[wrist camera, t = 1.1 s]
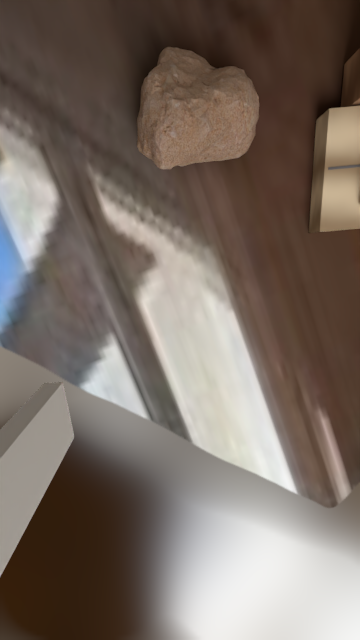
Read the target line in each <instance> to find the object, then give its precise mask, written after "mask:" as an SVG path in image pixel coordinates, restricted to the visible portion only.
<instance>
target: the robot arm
mask: <svg viewBox="0 0 360 640" xmlns="http://www.w3.org/2000/svg"><path fill="white" fill-rule="evenodd" d="M73 439H74V433H73V428H72V423H71V419H70V414H69V409H68V405H67V399H66V395H65V390H64V385H63V383H62V382H59V383H44V384H43V385H42V386H41V387H40V388H39V389H38V391H36V392H35V394H34V395H33V396H32V397H31V398H30V399H29V400H28V401H27V402H26V403H25V404H24V405H23V406H22V407H21V408H20V409H19V410H18V411H17V412H16V414H15V415H14V416H13V417H12V418H11V419H10V420H9V421H8V422H7V423H6V424H5V425H4V426H3V427H2V428H1V429H0V576H1V574H2V572H3V571H4V568H5V567H6V565H7V563H8V561H9V559H10V557H11V555H12V553H13V552H14V550H15V548H16V546H17V544H18V542H19V540H20V538H21V537H22V535H23V533H24V531H25V529H26V527H27V525H28V523H29V521H30V520H31V518H32V516H33V514H34V512H35V510H36V508H37V506H38V504H39V502H40V501H41V499H42V497H43V495H44V493H45V491H46V489H47V487H48V486H49V484H50V482H51V480H52V478H53V476H54V474H55V472H56V471H57V469H58V467H59V465H60V463H61V461H62V459H63V457H64V455H65V454H66V452H67V450H68V448H69V445H70V444H71V442H72V440H73Z"/></svg>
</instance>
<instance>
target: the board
mask: <svg viewBox="0 0 360 640" xmlns="http://www.w3.org/2000/svg"><path fill="white" fill-rule="evenodd" d="M359 228H360V106H351V107H340V108H329V109H328V110H327V111H326V112H325V113H324V114H323V115H321V116H320V117H319V118H318V119H317V120H316V131H315V146H314V161H313V177H312V192H311V207H310V222H309V233H313V232H325V231H336V230H348V229H359Z"/></svg>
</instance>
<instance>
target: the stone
mask: <svg viewBox="0 0 360 640" xmlns="http://www.w3.org/2000/svg"><path fill="white" fill-rule="evenodd" d="M258 111H259V96H258V95H257V93H256V91H255V88H254V86H253V83H252V80H251V79H249V78H248V77H247V75H246V74H245V72H244V70H242V69H239V68H237V67H235V66H228V67H224V68H214V67H212V66H211V65H210V64H209V63H208V62H207V61H206V59H204V58H203V57H201V56H199V55H197V54H195V53H194V52H193V51H189V50H184V49H179V48H177V47H176V48H173V47H167V48H164V49H163V51H162V52H161V53H160V55H159V60H158V63H157V66H156V67H155V68H153V69H152V70H151V71H150V72H149V74H148V76H147V77H146V78H145V79H144V82H143V85H142V87H141V102H140V111H139V114H138V117H137V126H138V127H137V129H138V140H137V147H138V149H139V151H140V152H141V153H142V154H144V155H145V156H146V157H148V158H150V159H152V160H153V162H154V163H155V164H156V166H157V167H158V168H161V169H171V168H172V167H174V166H176V165H178V166H186V165H189V164H192V163H201V162H209V161H223V160H228V159H234V158H239V157H240V156H241V155H243V154H244V153H246V152H247V150H248V149H249V147H250V145H251V142H252V140H253V138H254V136H255V135H256V134H255V128H256V123H257V121H258V118H259V115H258Z"/></svg>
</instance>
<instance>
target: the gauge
mask: <svg viewBox="0 0 360 640" xmlns="http://www.w3.org/2000/svg"><path fill="white" fill-rule="evenodd" d="M351 106H360V48H359V49H358V50H357V51H356V52H355V53H354V55H353V56H352V57H351V58H350V59H349V60H348V61H347V62H346V63H345V64H344V75H343V86H342V97H341V107H351Z"/></svg>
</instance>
